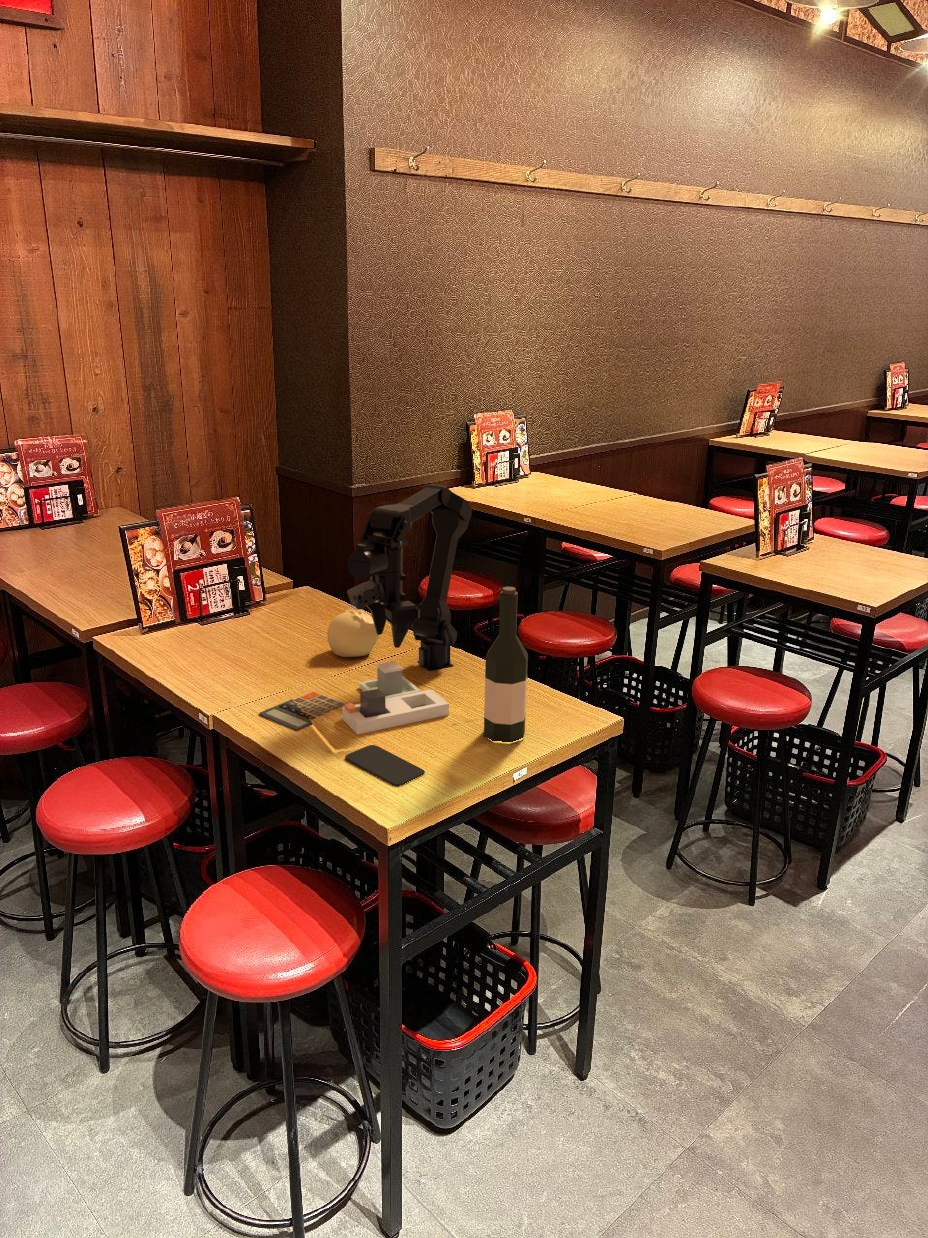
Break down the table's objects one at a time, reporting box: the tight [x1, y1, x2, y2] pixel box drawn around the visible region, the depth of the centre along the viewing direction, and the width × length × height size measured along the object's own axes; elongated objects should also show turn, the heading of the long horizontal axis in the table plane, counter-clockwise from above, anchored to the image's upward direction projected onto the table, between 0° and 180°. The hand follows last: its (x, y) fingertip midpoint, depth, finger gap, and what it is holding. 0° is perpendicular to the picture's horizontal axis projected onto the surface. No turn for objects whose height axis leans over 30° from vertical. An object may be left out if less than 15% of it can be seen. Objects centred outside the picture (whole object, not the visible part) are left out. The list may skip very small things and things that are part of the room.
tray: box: [358, 675, 422, 699], centre depth 194 cm, size 10×10×2 cm
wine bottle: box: [483, 586, 529, 742], centre depth 172 cm, size 8×8×30 cm
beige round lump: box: [326, 609, 380, 658], centre depth 215 cm, size 12×12×11 cm
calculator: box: [258, 691, 345, 732], centre depth 186 cm, size 12×1×15 cm
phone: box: [345, 744, 426, 787], centre depth 164 cm, size 7×1×15 cm
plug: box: [376, 661, 403, 696], centre depth 193 cm, size 4×4×6 cm
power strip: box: [341, 689, 450, 736], centre depth 182 cm, size 20×8×6 cm, turn 118°
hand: (388, 640), depth 191 cm, fingers open, 9 cm apart
